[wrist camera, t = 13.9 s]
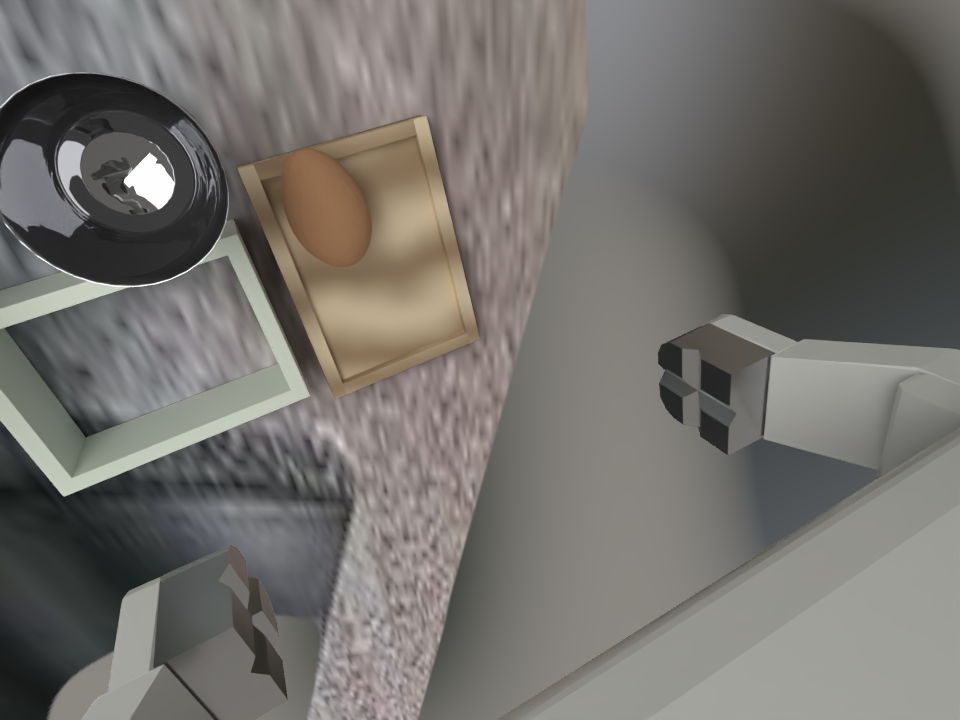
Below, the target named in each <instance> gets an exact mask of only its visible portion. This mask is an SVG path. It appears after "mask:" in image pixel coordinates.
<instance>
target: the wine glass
mask: <svg viewBox="0 0 960 720" xmlns="http://www.w3.org/2000/svg"><path fill="white" fill-rule="evenodd" d="M228 208H229V189H228V184H227V179H226V173H225V169H224V166H223V164H222V161H221V158H220V156H219V153H218V151H217V150H216V148H215V146H214V144H213V143H212V141H211V139H210V137H209V136H208V135H207V133H206V132H205V131H204V130H203V128H202V127H201V126H200V125H199V123H198V122H197V121H196V120H195V118H194V117H193V116H192V115H191V114H189V113H188V112H187V111H186V110H185V109H184V108H183V107H181V106H180V105H178V104H177V103H175V102H174V101H173V100H171V99H170V98H168V97H167V96H165V95H164V94H162V93H160V92H158V91H156V90H154V89H152V88H150V87H148V86H146V85H144V84H141V83H139V82H136V81H133V80H130V79H127V78H124V77H119V76H113V75H108V74H102V73H88V72H73V73H67V74H61V75H54V76H50V77H47V78H44V79H42V80H39V81H36V82H34V83H31V84H29V85H27V86H26V87H24V88H23V89H21V90H20V91H18V92H16V93H15V94H13V95H12V96H11V97H10V98H9V99H8V100H7V101H6V102H5V103H4V104H3V105H2V106H1V107H0V217H1V219H2V221H3V222H4V224H5V225H6V226H7V227H8V229H9V230H10V231H11V232H12V233H13V234H14V236H15V237H16V238H17V239H18V240H19V241H20V242H21V243H22V244H23V245H24V246H26V247H27V248H28V249H29V250H30V251H31V252H32V253H34V254H35V255H36V256H38V257H39V258H41V259H42V260H44V261H45V262H47V263H48V264H50V265H52V266H53V267H55V268H57V269H59V270H61V271H63V272H65V273H68V274H70V275H72V276H74V277H77V278H80V279H84V280H87V281H90V282H93V283H98V284H104V285H110V286H121V287H138V286H147V285H154V284H158V283H161V282H165V281H168V280H171V279H174V278H176V277H178V276H180V275H182V274H184V273H186V272H188V271H189V270H191V269H192V268H194V267H195V266H196V265H198V264H199V263H200V262H201V261H202V260H203V259H204V258H205V257H206V256H207V255H208V254H209V253H210V252H211V251H212V249H213V248H214V246H215V245H216V243H217V242H218V240H219V239H220V236H221V234H222V231H223V229H224V226H225V224H226V219H227V213H228Z"/></svg>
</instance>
